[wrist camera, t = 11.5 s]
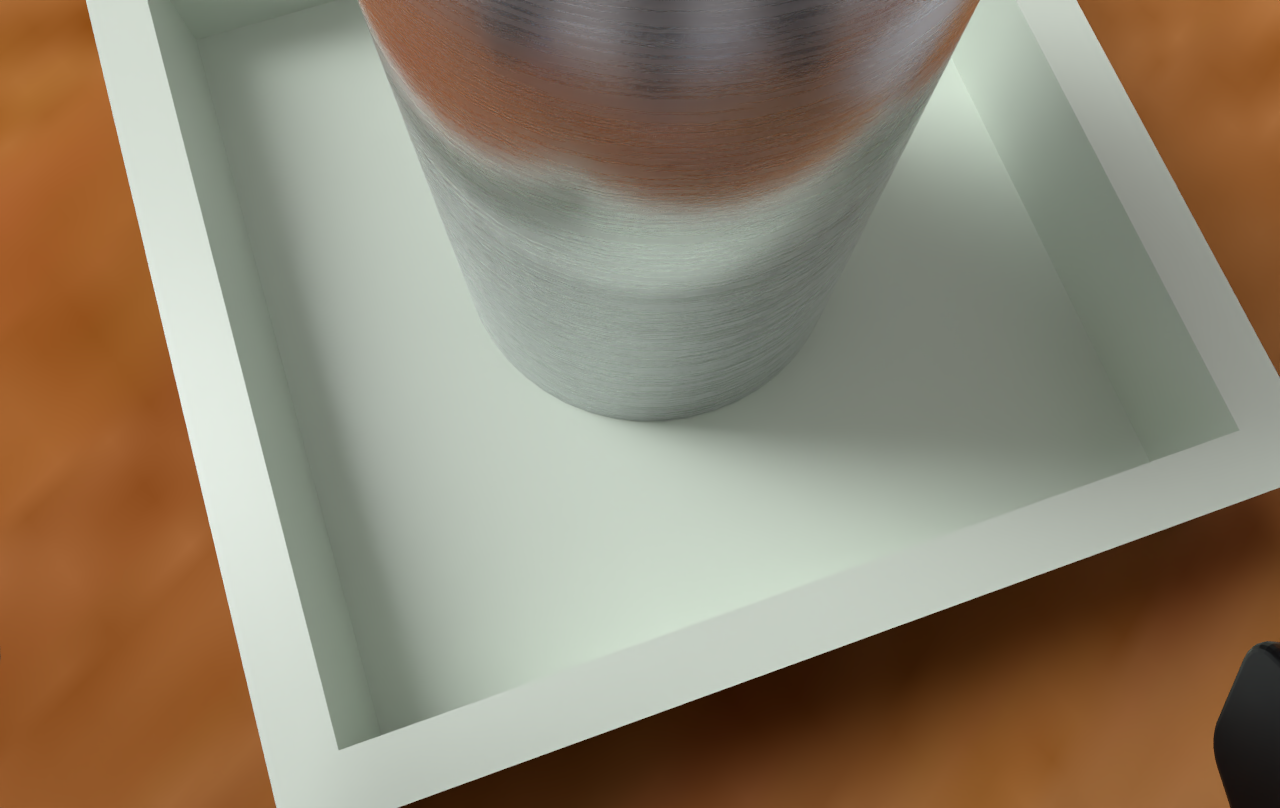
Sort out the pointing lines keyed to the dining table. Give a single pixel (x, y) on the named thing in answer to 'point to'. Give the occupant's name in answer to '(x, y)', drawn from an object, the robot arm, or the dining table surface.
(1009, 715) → the dining table surface
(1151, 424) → the sage bin
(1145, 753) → the dining table surface
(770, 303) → the brushed metal cylinder
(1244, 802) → the robot arm
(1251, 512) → the dining table surface
